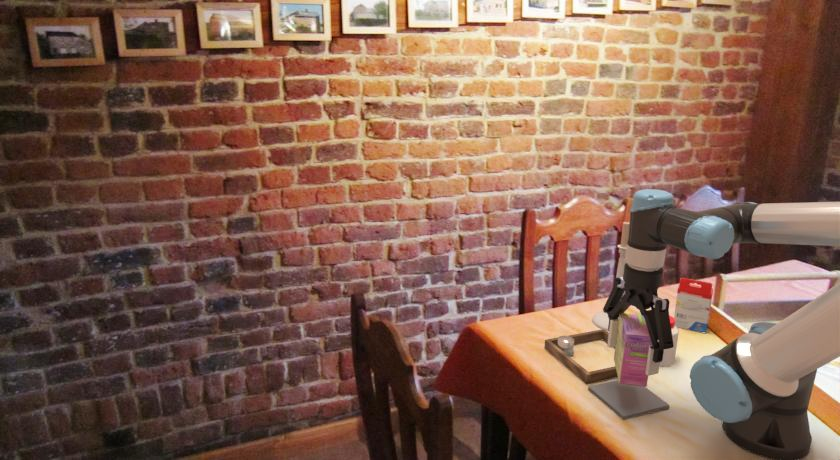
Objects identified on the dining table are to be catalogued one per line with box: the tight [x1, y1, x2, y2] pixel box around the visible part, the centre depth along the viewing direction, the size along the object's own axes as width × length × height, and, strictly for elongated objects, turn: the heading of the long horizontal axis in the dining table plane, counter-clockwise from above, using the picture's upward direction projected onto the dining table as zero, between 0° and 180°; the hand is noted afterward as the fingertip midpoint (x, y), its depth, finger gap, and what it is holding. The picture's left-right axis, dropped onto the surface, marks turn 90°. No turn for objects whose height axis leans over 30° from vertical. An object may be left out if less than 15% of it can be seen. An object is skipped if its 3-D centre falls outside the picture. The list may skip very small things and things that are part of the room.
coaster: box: [587, 379, 670, 421], centre depth 127 cm, size 12×12×1 cm
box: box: [613, 312, 652, 388], centre depth 123 cm, size 10×6×12 cm, turn 168°
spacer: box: [557, 335, 575, 358], centre depth 146 cm, size 4×4×4 cm
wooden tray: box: [544, 328, 618, 385], centre depth 143 cm, size 18×18×2 cm
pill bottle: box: [658, 314, 680, 367], centre depth 142 cm, size 8×8×11 cm
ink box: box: [673, 277, 714, 334], centre depth 159 cm, size 8×5×15 cm, turn 58°
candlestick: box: [591, 221, 630, 332], centre depth 159 cm, size 13×13×30 cm
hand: (631, 359), depth 124 cm, fingers closed on box, 12 cm apart
